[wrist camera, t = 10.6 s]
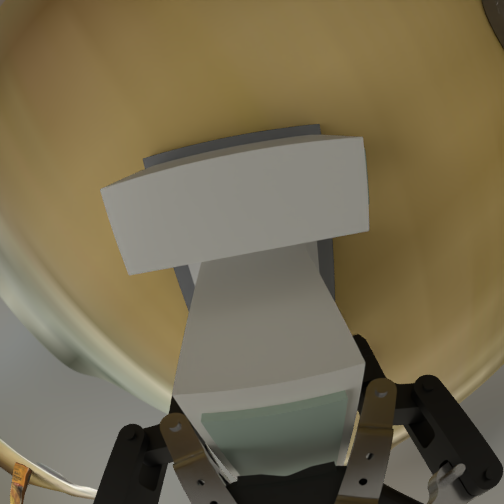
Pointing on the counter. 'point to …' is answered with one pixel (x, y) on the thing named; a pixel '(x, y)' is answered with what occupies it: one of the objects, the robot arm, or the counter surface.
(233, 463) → the block
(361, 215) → the rail
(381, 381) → the robot arm
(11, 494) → the pancake mix bag
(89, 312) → the counter surface
